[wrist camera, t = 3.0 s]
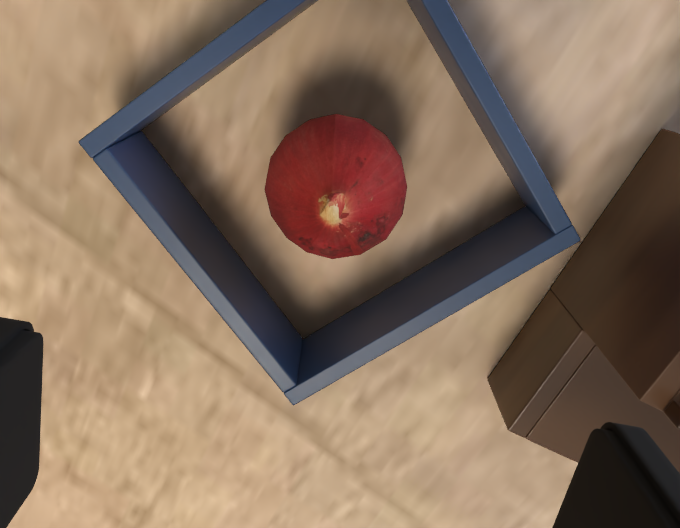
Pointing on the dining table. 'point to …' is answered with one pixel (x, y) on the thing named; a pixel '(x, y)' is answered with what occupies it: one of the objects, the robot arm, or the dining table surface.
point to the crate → (385, 308)
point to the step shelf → (607, 325)
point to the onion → (336, 186)
